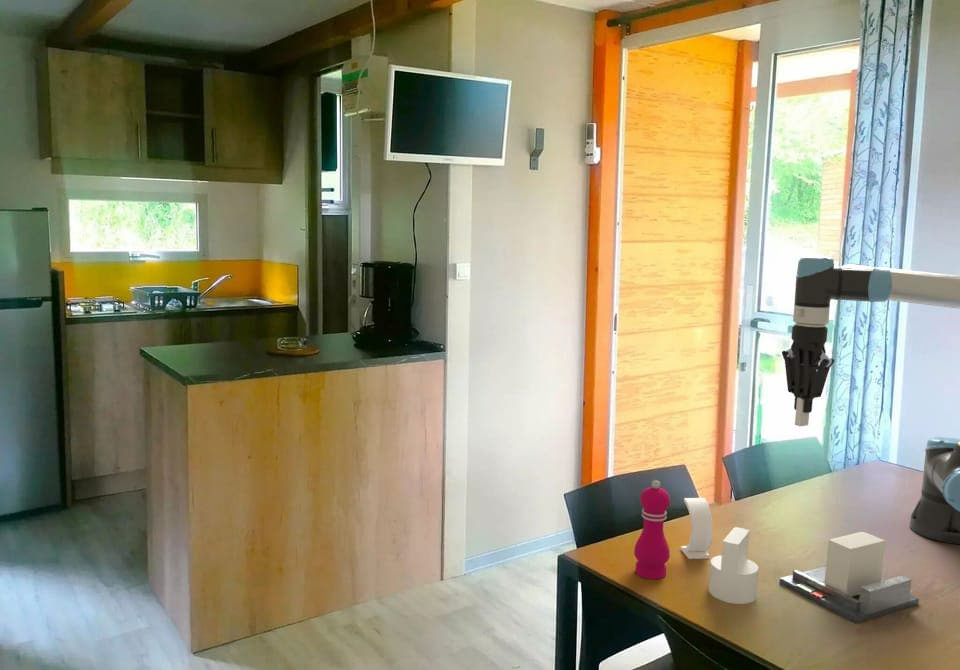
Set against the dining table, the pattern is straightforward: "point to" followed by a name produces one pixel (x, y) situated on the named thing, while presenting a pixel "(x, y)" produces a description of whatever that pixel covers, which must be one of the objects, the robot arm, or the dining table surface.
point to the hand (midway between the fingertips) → (801, 425)
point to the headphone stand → (699, 529)
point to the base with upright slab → (734, 570)
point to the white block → (854, 562)
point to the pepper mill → (653, 534)
